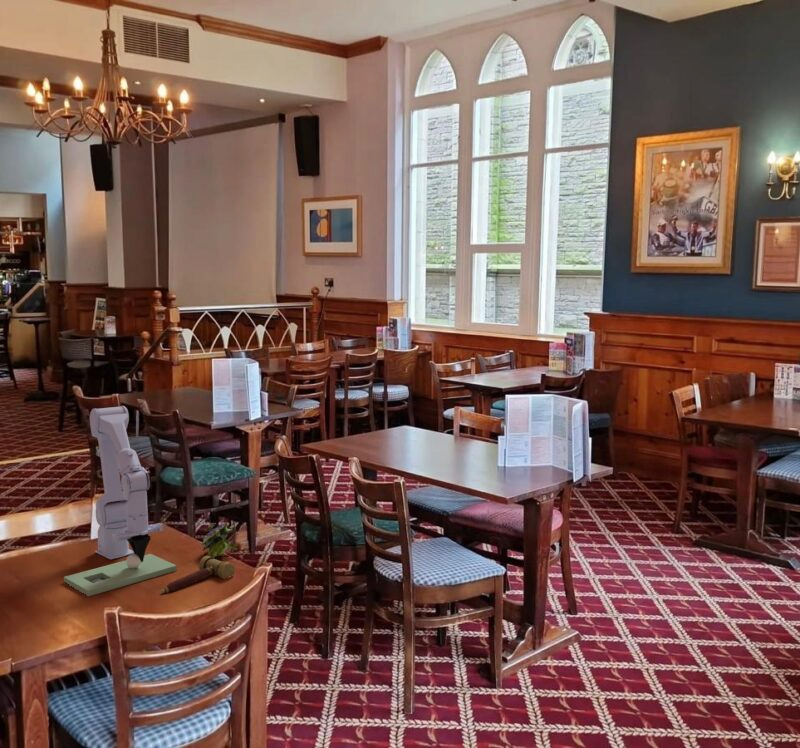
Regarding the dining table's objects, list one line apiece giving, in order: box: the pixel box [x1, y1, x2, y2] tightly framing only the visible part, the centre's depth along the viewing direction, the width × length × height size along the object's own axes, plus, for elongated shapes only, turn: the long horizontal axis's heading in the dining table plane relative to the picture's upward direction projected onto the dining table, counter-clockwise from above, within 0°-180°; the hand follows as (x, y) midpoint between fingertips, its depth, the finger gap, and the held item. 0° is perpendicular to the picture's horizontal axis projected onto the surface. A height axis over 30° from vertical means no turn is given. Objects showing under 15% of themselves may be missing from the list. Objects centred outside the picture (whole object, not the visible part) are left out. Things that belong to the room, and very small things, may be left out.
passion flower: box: [201, 521, 238, 559], centre depth 246 cm, size 11×11×12 cm
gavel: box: [160, 555, 236, 594], centre depth 224 cm, size 21×5×10 cm
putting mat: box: [63, 553, 178, 597], centre depth 228 cm, size 14×26×2 cm, turn 137°
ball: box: [126, 554, 141, 569], centre depth 230 cm, size 4×4×4 cm
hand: (139, 561), depth 231 cm, fingers closed, pressing on ball
